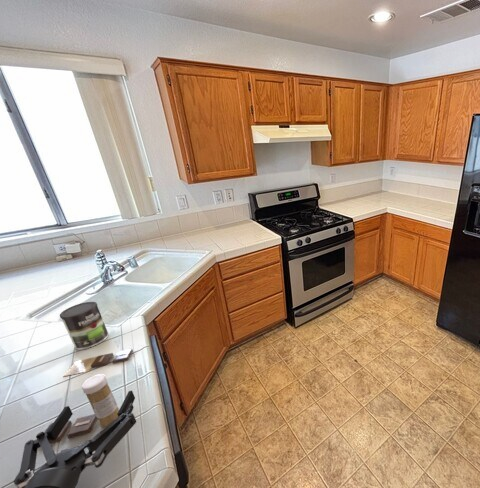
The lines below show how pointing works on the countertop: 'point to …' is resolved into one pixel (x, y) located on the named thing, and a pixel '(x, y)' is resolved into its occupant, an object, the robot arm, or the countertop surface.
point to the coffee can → (84, 325)
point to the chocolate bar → (97, 362)
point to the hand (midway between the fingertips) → (101, 402)
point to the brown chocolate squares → (77, 427)
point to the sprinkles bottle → (101, 399)
